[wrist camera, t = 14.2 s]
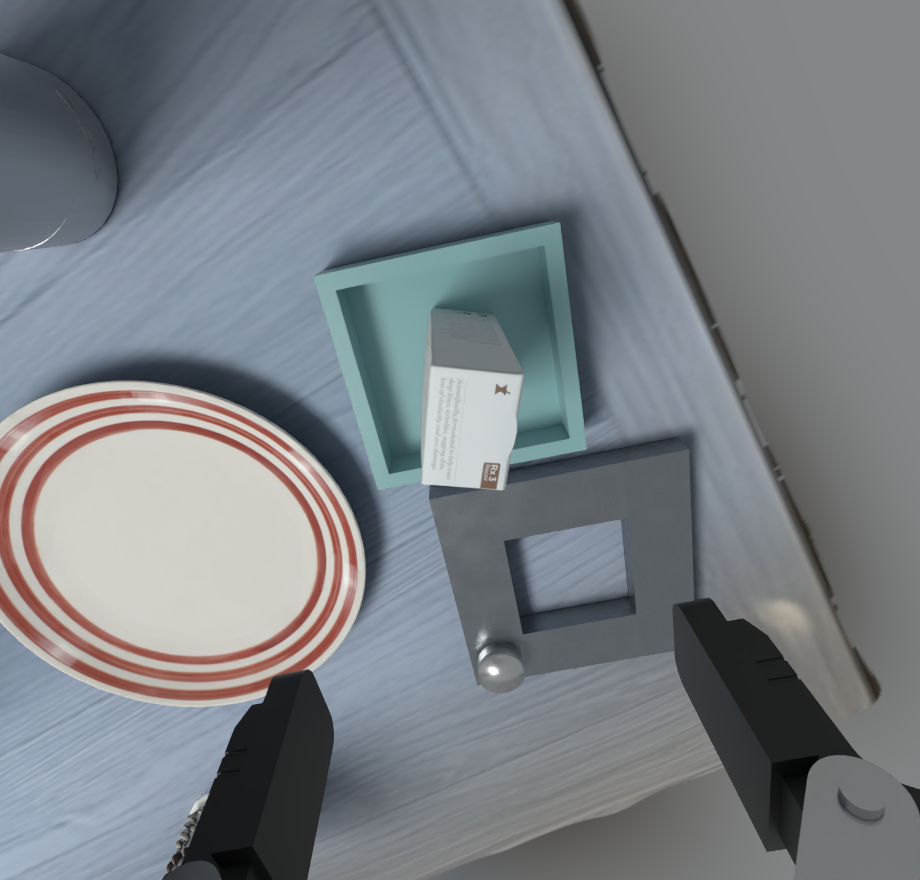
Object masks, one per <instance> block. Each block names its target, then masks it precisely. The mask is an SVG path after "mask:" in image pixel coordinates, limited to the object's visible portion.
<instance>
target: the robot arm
mask: <svg viewBox="0 0 920 880" xmlns="http://www.w3.org/2000/svg"><path fill="white" fill-rule="evenodd" d="M117 180H118V178H117V169H116V161H115V157H114V154H113V151H112V148H111V144H110V141H109V139H108V137H107V135H106V133H105V131H104V129H103V127H102V125H101V123H100V121H99V120H98V118H97V117H96V115H95V114H94V113H93V111H92V110H91V109H90V107H89V106H88V105H87V103H86V102H85V101H84V100H83V99H82V98H81V97H80V96H79V95H78V94H77V93H76V92H75V91H74V90H73V89H72V88H71V87H70V86H68V85H67V84H66V83H64V82H63V81H61V80H60V79H58V78H57V77H56V76H54V75H53V74H51V73H49V72H47V71H45V70H43V69H41V68H38V67H36V66H34V65H32V64H29V63H26V62H23V61H20V60H17V59H14V58H11V57H8V56H5V55H2V54H0V253H2V252H12V251H23V250H31V249H40V248H48V247H57V246H64V245H69V244H73V243H78V242H80V241H82V240H84V239H86V238H88V237H90V236H92V235H93V234H94V233H95V232H96V231H97V230H98V229H99V228H101V227H102V226H103V224H104V223H105V221H106V220H107V218H108V216H109V215H110V213H111V211H112V208H113V205H114V202H115V199H116V193H117ZM672 613H673V632H674V651H675V660H676V665H677V669H678V673H679V676H680V678H681V681H682V684H683V686H684V688H685V690H686V692H687V694H688V696H689V698H690V700H691V702H692V704H693V706H694V708H695V710H696V712H697V714H698V716H699V718H700V720H701V722H702V724H703V726H704V728H705V730H706V732H707V734H708V736H709V738H710V740H711V742H712V744H713V746H714V748H715V750H716V752H717V754H718V756H719V757H720V759H721V761H722V763H723V765H724V767H725V769H726V771H727V773H728V775H729V777H730V779H731V781H732V783H733V785H734V787H735V789H736V791H737V793H738V795H739V797H740V799H741V801H742V803H743V805H744V807H745V809H746V811H747V813H748V815H749V817H750V819H751V821H752V823H753V825H754V827H755V829H756V831H757V833H758V835H759V837H760V839H761V841H762V843H763V845H764V847H765V849H766V851H767V852H769V851H775V850H781V849H787V851H788V852H789V854H790V856H791V858H792V860H793V862H794V863H795V866H796V867H795V875H794V880H920V789H916V788H913V787H910V786H907V785H904V784H902V783H900V782H899V781H898V780H896V779H895V778H894V777H893V776H892V775H891V774H889V773H888V772H886V771H885V770H883V769H882V768H880V767H878V766H876V765H874V764H873V763H870V762H868V761H865V760H863V759H862V758H861V757H860V756H859V755H858V754H857V753H856V752H855V750H854V749H853V748H852V747H851V746H850V744H849V743H848V741H847V740H846V739H845V738H844V736H843V735H842V733H841V732H840V731H839V730H838V728H837V727H836V726H835V724H834V723H833V722H832V720H831V719H830V718H829V716H828V715H827V714H826V712H825V711H824V710H823V708H822V707H821V706H820V704H819V703H818V702H817V700H816V699H815V698H814V696H813V695H812V694H811V692H810V691H809V690H808V688H807V687H806V686H805V685H804V683H803V682H802V681H801V679H798V677H797V674H796V673H795V671H794V670H793V669H792V667H791V666H790V665H789V663H788V662H787V661H785V660H784V658H783V655H782V654H781V653H780V651H779V650H778V649H777V647H776V646H775V645H774V643H773V642H772V641H771V640H770V638H769V637H768V636H767V635H766V634H765V633H763V632H762V631H760V630H759V629H758V628H756V627H755V626H753V625H752V624H750V623H749V622H747V621H746V620H745V619H738V620H732V621H727V620H726V619H725V617H724V616H723V614H722V613H721V611H720V610H719V608H718V607H717V606H716V604H715V603H714V602H713V600H712V599H710V598H705V599H699V600H694V601H688V602H683V603H677V604H674V605H673V609H672ZM333 742H334V729H333V722H332V717H331V714H330V712H329V710H328V707H327V705H326V703H325V700H324V698H323V696H322V693H321V691H320V689H319V686H318V684H317V682H316V679H315V677H314V675H313V673H312V671H311V670H309V669H307V670H301V671H296V672H290V673H285V674H279V675H275V676H274V677H273V678H272V680H271V682H270V684H269V687H268V690H267V693H266V696H265V699H264V701H263V703H261V704H255V705H252V706H251V707H250V708H249V710H248V711H247V712H246V714H245V715H244V716H243V718H242V719H241V720H240V721H239V723H238V724H237V725H236V727H235V728H234V731H233V733H232V736H231V738H230V741H229V744H228V746H227V749H226V751H225V757H223V759H222V762H221V764H220V767H219V769H218V772H217V778H215V780H214V782H213V785H212V787H211V790H210V793H209V795H208V798H207V800H206V803H205V805H204V808H203V811H202V813H201V816H200V818H199V821H198V823H197V826H196V829H195V831H194V834H193V836H192V839H191V842H190V844H189V847H188V849H187V852H186V854H185V857H184V859H183V861H182V863H181V865H180V867H178V868H176V869H174V870H173V871H172V872H170V873H169V874H168V875H166V876H165V877H164V878H163V879H162V880H307V878H308V873H309V868H310V862H311V857H312V852H313V847H314V842H315V837H316V832H317V826H318V821H319V816H320V811H321V806H322V801H323V795H324V790H325V785H326V780H327V775H328V770H329V765H330V759H331V754H332V749H333Z"/></svg>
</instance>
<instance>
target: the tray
mask: <svg viewBox="0 0 920 880" xmlns="http://www.w3.org/2000/svg"><path fill="white" fill-rule="evenodd" d="M313 277H314V281H315V284H316V287H317V291H318V294H319V297H320V301H321V304H322V307H323V310H324V314H325V317H326V320H327V324H328V327H329V330H330V334H331V337H332V340H333V343H334V347H335V350H336V353H337V357H338V360H339V363H340V367H341V370H342V373H343V376H344V380H345V383H346V386H347V390H348V393H349V396H350V399H351V403H352V406H353V409H354V413H355V416H356V419H357V423H358V426H359V429H360V432H361V436H362V439H363V442H364V446H365V449H366V452H367V456H368V459H369V462H370V465H371V469H372V472H373V475H374V479H375V482H376V485H377V489H378V490H382V489H387V488H392V487H397V486H403V485H408V484H413V483H418V482H421V474H422V466H421V421H422V385H423V368H424V355H425V345H426V337H427V329H428V323H429V316H430V311H431V309H433V308H439V309H449V310H459V311H468V312H476V313H485V314H493V315H495V317H496V318H497V320H498V323H499V324H500V326H501V328H502V330H503V332H504V334H505V336H506V339H507V340H508V342H509V344H510V346H511V348H512V350H513V352H514V354H515V356H516V358H517V360H518V362H519V364H520V366H521V368H522V370H523V372H524V382H523V388H522V395H521V401H520V407H519V413H518V419H517V434H516V440H515V444H514V446H513V449H512V453H511V458H510V464H515V463H520V462H525V461H530V460H536V459H541V458H546V457H551V456H556V455H561V454H566V453H571V452H577V451H582V450H587V445H586V437H585V428H584V420H583V411H582V403H581V394H580V386H579V378H578V369H577V361H576V352H575V344H574V335H573V327H572V319H571V310H570V302H569V293H568V285H567V276H566V268H565V260H564V251H563V243H562V234H561V226H560V222H555V221H546V222H542V223H537V224H532V225H528V226H523V227H519V228H514V229H510V230H505V231H500V232H496V233H491V234H487V235H482V236H478V237H473V238H468V239H464V240H459V241H455V242H450V243H446V244H441V245H436V246H432V247H427V248H423V249H418V250H414V251H409V252H404V253H400V254H395V255H391V256H386V257H381V258H377V259H372V260H368V261H363V262H359V263H354V264H349V265H345V266H340V267H336V268H331V269H327V270H323V271H321V272H320V273H318V274H316V275H315V276H313ZM510 464H509V465H510Z"/></svg>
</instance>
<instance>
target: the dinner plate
mask: <svg viewBox="0 0 920 880" xmlns="http://www.w3.org/2000/svg"><path fill="white" fill-rule="evenodd" d="M365 580H366V560H365V551H364V545H363V541H362V536H361V532H360V529H359V526H358V523H357V520H356V518H355V515H354V513H353V511H352V509H351V507H350V505H349V503H348V501H347V499H346V497H345V495H344V494H343V492H342V490H341V489H340V487H339V486H338V484H337V483H336V481H335V480H334V479H333V477H332V476H331V475H330V473H329V472H328V471H327V470H326V469H325V467H324V466H323V465H322V464H321V463H320V462H319V460H318V459H317V458H316V457H315V456H314V455H313V454H312V453H311V452H310V451H309V450H308V449H307V448H306V447H305V446H303V445H302V444H301V443H300V442H299V441H297V440H296V439H295V438H294V437H293V436H291V435H290V434H289V433H287V432H286V431H285V430H283V429H282V428H280V427H279V426H277V425H276V424H274V423H273V422H271V421H270V420H268V419H266V418H265V417H263V416H261V415H259V414H257V413H255V412H254V411H252V410H250V409H248V408H246V407H243V406H241V405H239V404H236V403H234V402H232V401H229V400H227V399H224V398H222V397H219V396H216V395H213V394H210V393H207V392H203V391H200V390H196V389H192V388H188V387H183V386H178V385H173V384H166V383H159V382H150V381H106V382H96V383H90V384H84V385H78V386H74V387H70V388H66V389H63V390H60V391H57V392H54V393H52V394H49V395H46V396H43V397H41V398H39V399H37V400H35V401H33V402H31V403H29V404H27V405H25V406H23V407H22V408H20V409H19V410H17V411H16V412H14V413H13V414H11V415H10V416H8V417H7V418H6V419H5V420H3V421H2V422H1V423H0V622H1V623H2V625H3V626H4V627H5V628H6V629H7V630H9V631H10V632H11V633H12V634H13V635H14V636H15V637H16V638H17V639H18V640H19V641H20V642H21V643H22V644H23V645H25V646H26V647H27V648H28V649H30V650H31V651H32V652H33V653H35V654H36V655H37V656H39V657H40V658H42V659H43V660H45V661H46V662H48V663H49V664H51V665H52V666H54V667H55V668H57V669H59V670H61V671H62V672H64V673H66V674H68V675H70V676H72V677H74V678H76V679H78V680H80V681H82V682H85V683H87V684H89V685H91V686H94V687H96V688H99V689H101V690H104V691H107V692H110V693H113V694H116V695H120V696H123V697H127V698H130V699H134V700H138V701H143V702H148V703H154V704H161V705H168V706H180V707H207V706H219V705H228V704H235V703H240V702H244V701H249V700H253V699H257V698H260V697H263V696H266V693H267V690H268V687H269V684H270V682H271V680H272V678H273V677H274V676H275V675H279V674H285V673H290V672H296V671H301V670H307V669H309V670H311V671H314V670H315V669H316V668H318V667H319V666H320V665H321V664H323V663H324V662H325V661H326V660H327V659H328V658H329V657H330V656H331V655H332V654H333V653H334V652H335V651H336V650H337V649H338V647H339V646H340V645H341V643H342V642H343V641H344V639H345V638H346V636H347V635H348V633H349V631H350V630H351V628H352V626H353V624H354V622H355V620H356V618H357V615H358V612H359V610H360V607H361V603H362V600H363V594H364V589H365Z"/></svg>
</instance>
